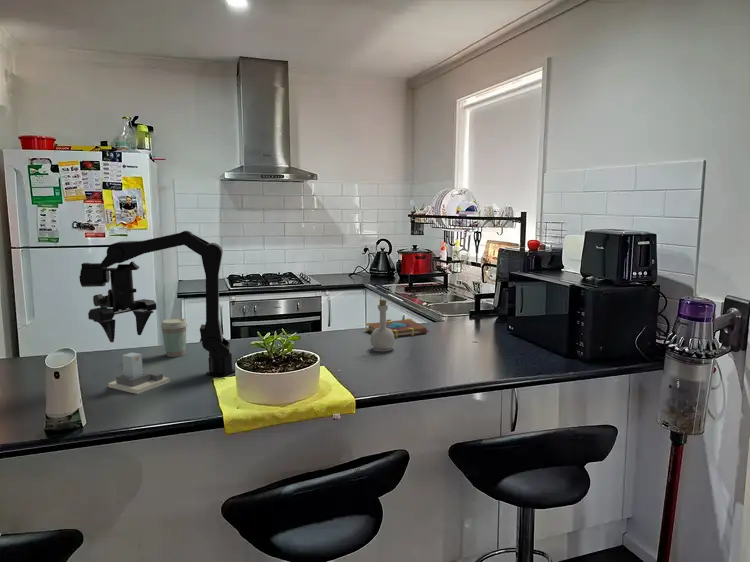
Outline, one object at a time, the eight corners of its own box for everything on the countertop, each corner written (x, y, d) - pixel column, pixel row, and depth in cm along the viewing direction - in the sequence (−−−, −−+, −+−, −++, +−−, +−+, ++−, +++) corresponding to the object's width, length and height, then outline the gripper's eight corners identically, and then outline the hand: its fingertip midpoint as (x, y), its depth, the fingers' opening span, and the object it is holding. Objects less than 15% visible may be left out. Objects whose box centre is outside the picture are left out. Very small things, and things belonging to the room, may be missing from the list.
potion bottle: (366, 350, 188) (366, 300, 185) (376, 344, 196) (376, 296, 193) (390, 353, 185) (390, 302, 182) (398, 347, 193) (399, 298, 190)
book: (436, 335, 214) (437, 323, 213) (381, 342, 204) (381, 330, 203) (416, 325, 229) (417, 313, 228) (363, 331, 218) (364, 319, 217)
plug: (143, 381, 153) (141, 354, 152) (133, 384, 150) (131, 357, 149) (133, 379, 155) (131, 352, 153) (124, 382, 152) (122, 355, 151)
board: (169, 382, 156) (169, 371, 155) (137, 394, 146) (137, 382, 145) (141, 376, 161) (140, 365, 161) (108, 387, 151) (107, 376, 151)
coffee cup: (180, 359, 178) (178, 323, 177) (157, 357, 180) (155, 322, 178) (193, 352, 187) (192, 318, 185) (171, 350, 188) (169, 317, 187)
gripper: (131, 279, 165) (134, 328, 168) (73, 288, 149) (78, 342, 151) (156, 282, 160) (159, 332, 163) (99, 291, 144) (103, 347, 146)
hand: (125, 338), depth 156 cm, fingers open, 9 cm apart
